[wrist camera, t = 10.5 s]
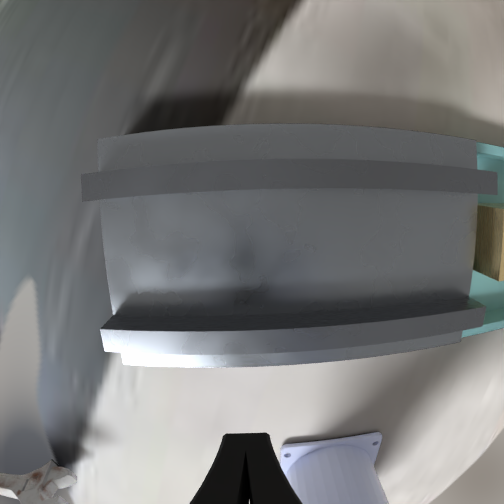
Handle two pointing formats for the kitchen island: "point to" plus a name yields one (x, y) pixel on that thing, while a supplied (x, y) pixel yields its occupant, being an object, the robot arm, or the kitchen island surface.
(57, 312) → the kitchen island surface
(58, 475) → the wrench
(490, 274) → the wooden cube
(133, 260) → the slot block
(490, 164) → the tray
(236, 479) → the robot arm
